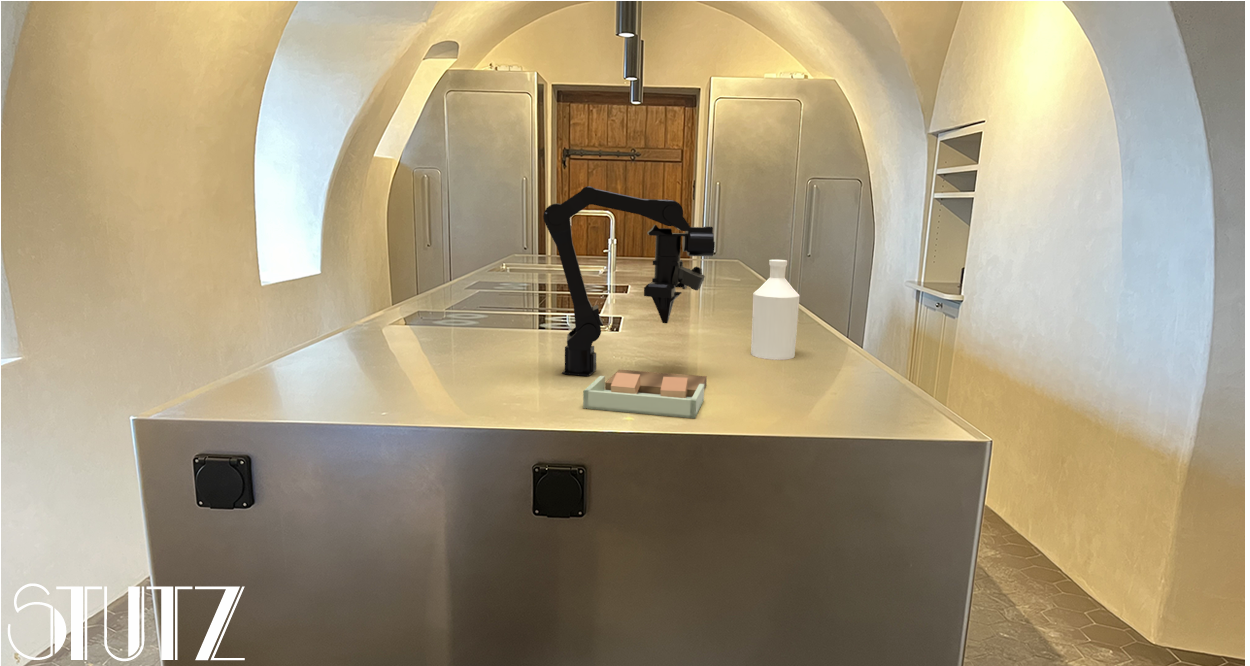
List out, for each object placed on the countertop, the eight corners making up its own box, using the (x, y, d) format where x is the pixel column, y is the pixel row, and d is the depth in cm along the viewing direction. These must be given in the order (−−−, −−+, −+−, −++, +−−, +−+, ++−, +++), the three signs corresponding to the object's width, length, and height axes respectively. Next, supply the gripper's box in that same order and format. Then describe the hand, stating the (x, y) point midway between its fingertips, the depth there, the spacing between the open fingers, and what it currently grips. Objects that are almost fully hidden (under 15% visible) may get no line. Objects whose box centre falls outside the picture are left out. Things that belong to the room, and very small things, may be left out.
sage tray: (583, 408, 141) (583, 390, 141) (600, 391, 153) (600, 375, 152) (695, 418, 136) (695, 400, 136) (703, 400, 148) (704, 384, 147)
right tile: (660, 400, 146) (660, 390, 145) (663, 386, 150) (663, 376, 149) (685, 401, 145) (685, 391, 144) (687, 387, 149) (687, 377, 148)
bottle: (800, 360, 186) (806, 263, 181) (753, 359, 186) (759, 262, 181) (790, 350, 197) (796, 258, 192) (746, 349, 197) (751, 257, 193)
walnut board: (605, 391, 153) (605, 382, 153) (618, 378, 165) (619, 369, 164) (699, 399, 149) (699, 390, 148) (706, 385, 160) (706, 376, 160)
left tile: (611, 395, 148) (610, 385, 147) (617, 382, 152) (616, 372, 151) (635, 398, 147) (634, 387, 146) (640, 384, 151) (640, 374, 150)
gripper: (695, 261, 154) (692, 333, 157) (709, 254, 171) (706, 319, 174) (644, 258, 157) (642, 329, 160) (663, 252, 174) (661, 315, 177)
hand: (665, 323), depth 168 cm, fingers closed
